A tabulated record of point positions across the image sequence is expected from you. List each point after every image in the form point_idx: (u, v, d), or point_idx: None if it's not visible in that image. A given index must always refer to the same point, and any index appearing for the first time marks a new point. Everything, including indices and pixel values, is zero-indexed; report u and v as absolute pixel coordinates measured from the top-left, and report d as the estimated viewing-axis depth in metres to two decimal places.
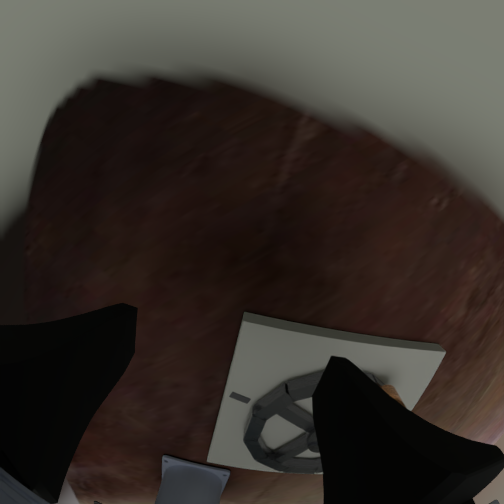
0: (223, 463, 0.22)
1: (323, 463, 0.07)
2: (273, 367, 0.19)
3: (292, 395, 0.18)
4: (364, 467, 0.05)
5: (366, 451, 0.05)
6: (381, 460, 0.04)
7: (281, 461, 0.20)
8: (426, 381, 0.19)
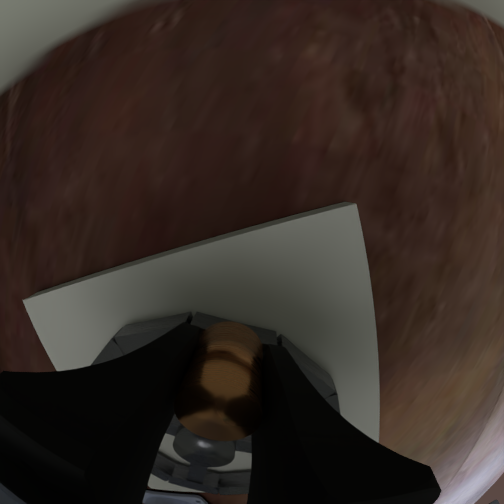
0: (166, 488, 0.15)
1: (252, 457, 0.07)
2: (75, 347, 0.12)
3: None
4: (273, 465, 0.05)
5: (276, 448, 0.05)
6: (282, 460, 0.04)
7: (198, 480, 0.12)
8: (360, 284, 0.11)
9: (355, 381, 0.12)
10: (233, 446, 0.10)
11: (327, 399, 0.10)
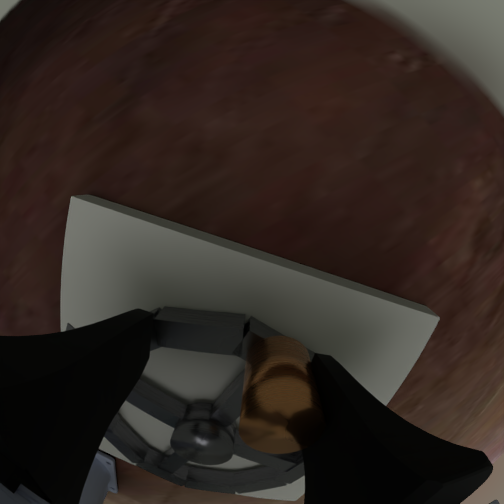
0: None
1: (305, 462, 0.07)
2: (111, 286, 0.11)
3: None
4: (342, 468, 0.05)
5: (344, 452, 0.05)
6: (358, 462, 0.04)
7: (170, 470, 0.12)
8: (402, 371, 0.12)
9: None
10: (233, 449, 0.10)
11: None
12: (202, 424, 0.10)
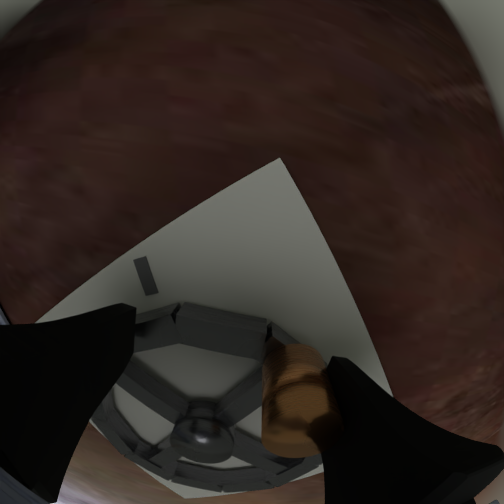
0: None
1: (324, 463, 0.07)
2: (243, 270, 0.11)
3: None
4: (365, 467, 0.05)
5: (367, 451, 0.05)
6: (382, 460, 0.04)
7: (159, 464, 0.12)
8: None
9: None
10: (232, 450, 0.11)
11: None
12: (206, 423, 0.10)
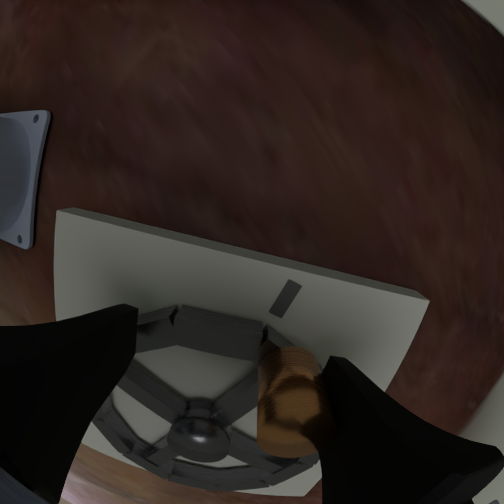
0: (58, 246, 0.11)
1: (322, 463, 0.07)
2: (349, 348, 0.12)
3: None
4: (363, 467, 0.05)
5: (365, 451, 0.05)
6: (380, 460, 0.04)
7: (156, 463, 0.12)
8: (266, 492, 0.15)
9: None
10: (228, 449, 0.11)
11: None
12: (203, 423, 0.11)
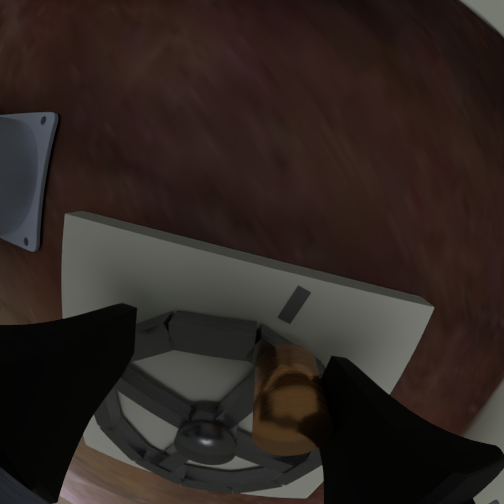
0: (66, 250, 0.11)
1: (323, 463, 0.07)
2: (356, 353, 0.12)
3: None
4: (364, 467, 0.05)
5: (366, 451, 0.05)
6: (381, 460, 0.04)
7: (168, 469, 0.12)
8: (269, 494, 0.15)
9: None
10: (235, 450, 0.11)
11: None
12: (207, 425, 0.11)
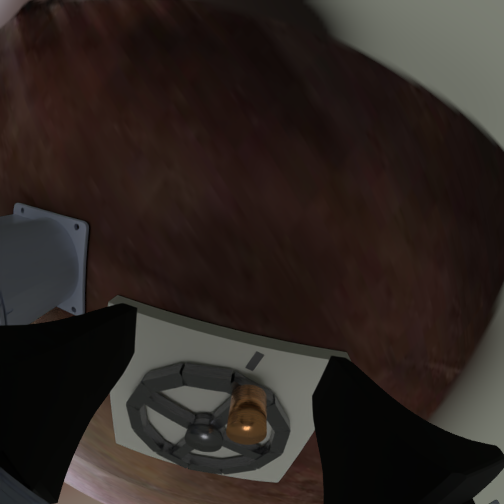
0: None
1: (323, 463, 0.07)
2: (296, 387, 0.19)
3: (148, 386, 0.17)
4: (364, 467, 0.05)
5: (366, 451, 0.05)
6: (381, 460, 0.04)
7: (179, 456, 0.20)
8: (249, 477, 0.22)
9: None
10: (222, 442, 0.18)
11: (284, 432, 0.18)
12: (205, 427, 0.18)
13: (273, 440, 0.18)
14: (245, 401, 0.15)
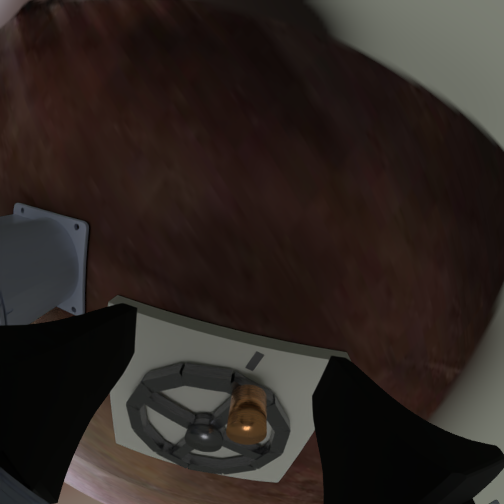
0: None
1: (323, 463, 0.07)
2: (296, 387, 0.19)
3: (148, 386, 0.17)
4: (364, 467, 0.05)
5: (366, 451, 0.05)
6: (381, 460, 0.04)
7: (179, 456, 0.20)
8: (249, 477, 0.22)
9: None
10: (222, 442, 0.18)
11: (284, 432, 0.18)
12: (205, 427, 0.18)
13: (273, 440, 0.18)
14: (245, 401, 0.15)
